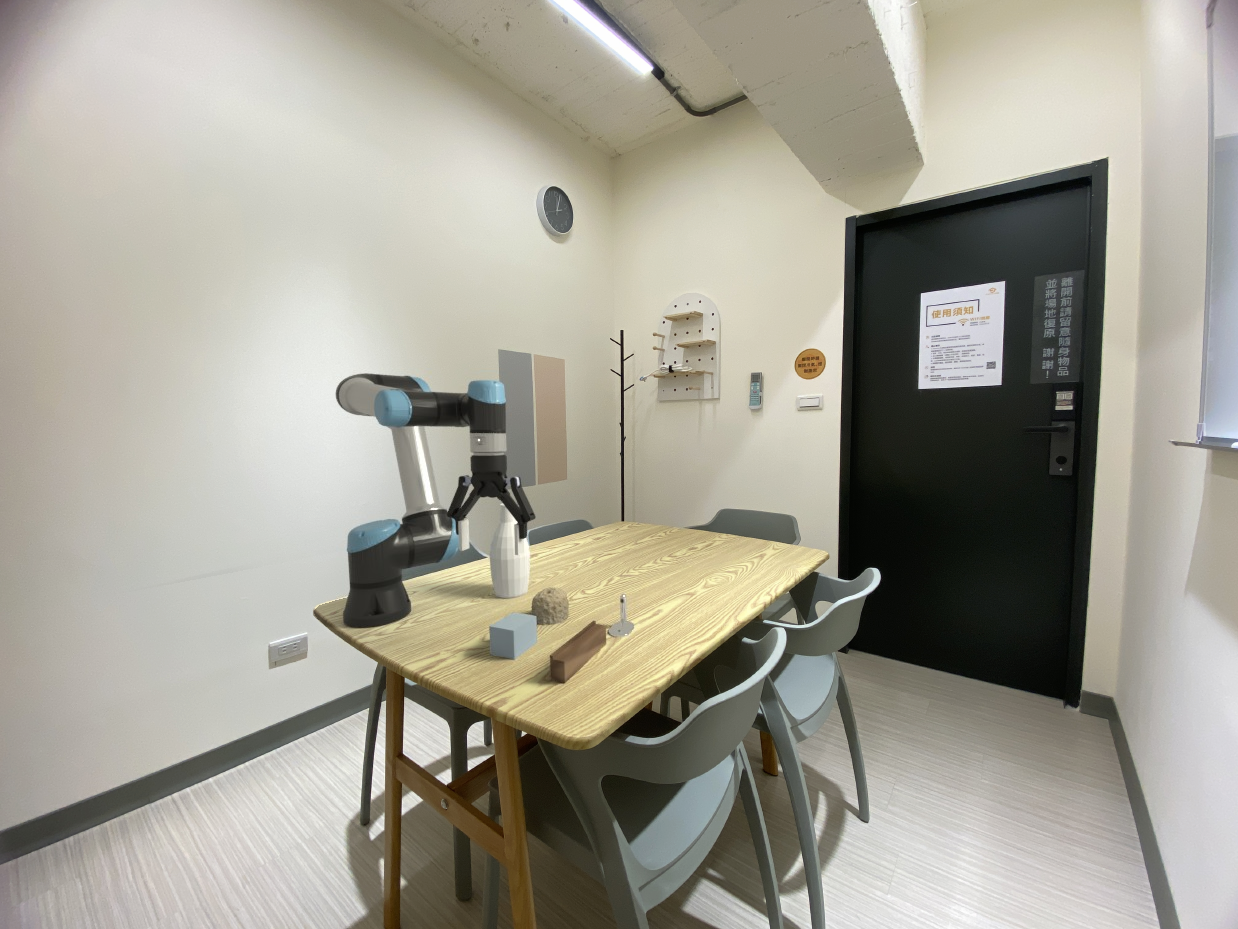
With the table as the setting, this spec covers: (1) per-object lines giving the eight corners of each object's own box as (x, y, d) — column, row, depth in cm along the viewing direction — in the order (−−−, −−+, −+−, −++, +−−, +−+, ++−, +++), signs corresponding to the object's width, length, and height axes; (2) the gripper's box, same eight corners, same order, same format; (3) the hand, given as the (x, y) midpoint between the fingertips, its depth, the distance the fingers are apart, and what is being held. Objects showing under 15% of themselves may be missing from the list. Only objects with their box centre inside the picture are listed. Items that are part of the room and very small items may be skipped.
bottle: (503, 603, 125) (499, 508, 123) (483, 593, 133) (480, 504, 131) (538, 593, 132) (536, 503, 131) (518, 584, 140) (515, 499, 139)
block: (490, 655, 96) (489, 626, 95) (514, 639, 103) (513, 612, 103) (514, 660, 93) (513, 630, 93) (537, 643, 101) (536, 616, 100)
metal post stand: (605, 636, 104) (616, 622, 111) (627, 638, 102) (636, 624, 110) (604, 602, 103) (616, 590, 111) (626, 604, 102) (636, 592, 109)
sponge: (549, 642, 110) (572, 609, 108) (517, 617, 111) (539, 584, 109) (562, 626, 119) (583, 595, 117) (532, 603, 120) (552, 572, 118)
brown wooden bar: (550, 680, 85) (549, 655, 85) (593, 641, 101) (593, 620, 100) (564, 683, 84) (564, 658, 84) (606, 644, 99) (605, 622, 99)
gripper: (427, 454, 100) (431, 552, 102) (533, 455, 93) (535, 560, 95) (449, 452, 108) (452, 543, 109) (549, 453, 101) (551, 550, 102)
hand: (491, 551), depth 102 cm, fingers open, 13 cm apart
